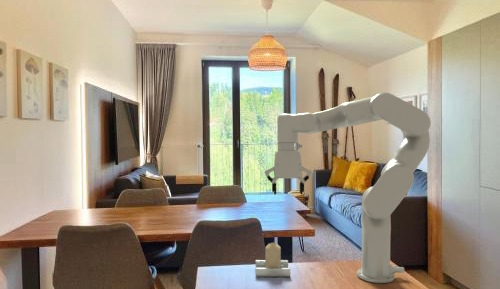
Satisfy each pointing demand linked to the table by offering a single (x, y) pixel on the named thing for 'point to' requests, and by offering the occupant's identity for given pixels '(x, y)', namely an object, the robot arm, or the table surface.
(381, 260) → the robot arm
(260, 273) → the track
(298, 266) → the table surface
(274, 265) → the candle
